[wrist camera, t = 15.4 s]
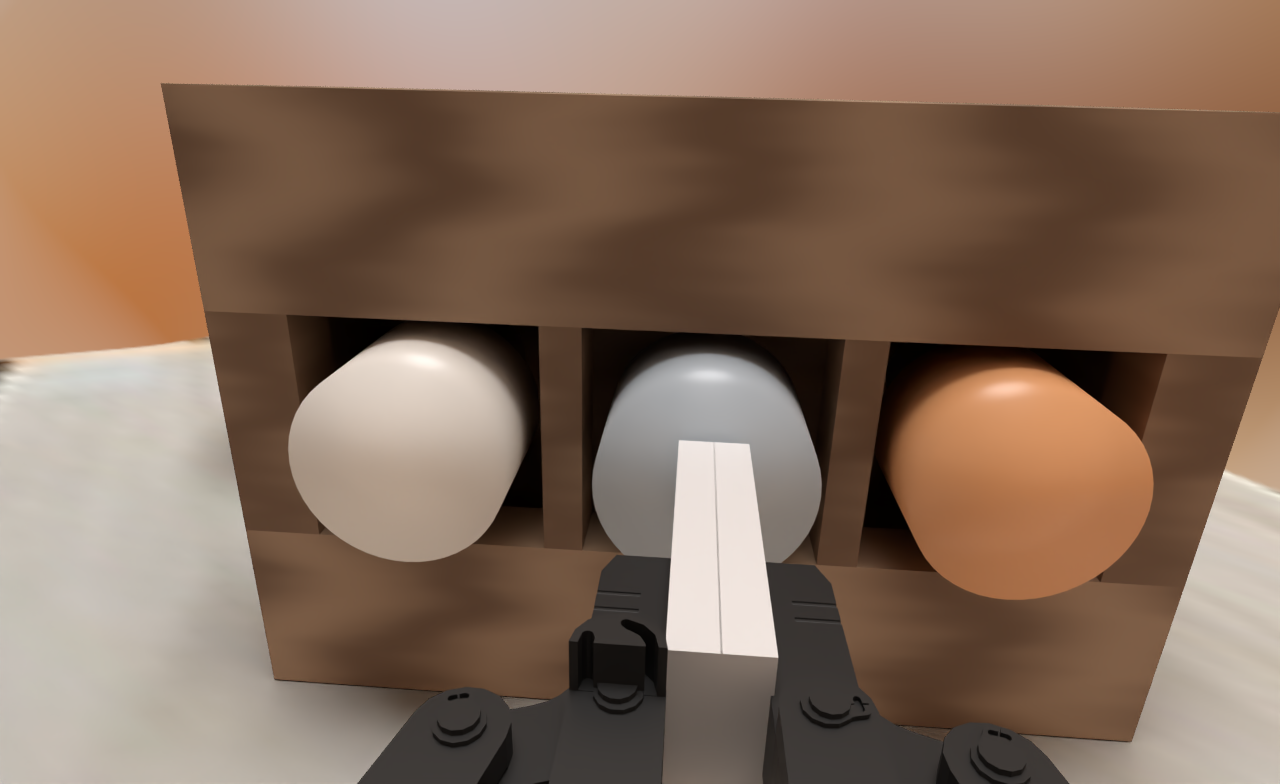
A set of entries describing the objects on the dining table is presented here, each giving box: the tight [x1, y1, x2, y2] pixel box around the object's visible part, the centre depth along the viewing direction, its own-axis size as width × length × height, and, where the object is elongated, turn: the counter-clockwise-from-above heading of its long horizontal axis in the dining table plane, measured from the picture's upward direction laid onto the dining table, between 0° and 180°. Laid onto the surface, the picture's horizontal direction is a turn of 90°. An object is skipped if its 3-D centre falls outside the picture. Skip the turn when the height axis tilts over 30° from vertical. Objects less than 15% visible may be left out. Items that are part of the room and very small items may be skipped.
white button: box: [288, 320, 540, 562], centre depth 21 cm, size 5×8×5 cm, turn 176°
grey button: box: [592, 332, 822, 563], centre depth 21 cm, size 5×8×5 cm, turn 176°
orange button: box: [874, 342, 1154, 600], centre depth 20 cm, size 5×8×5 cm, turn 176°
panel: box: [161, 84, 1280, 741], centre depth 23 cm, size 24×10×16 cm, turn 86°
